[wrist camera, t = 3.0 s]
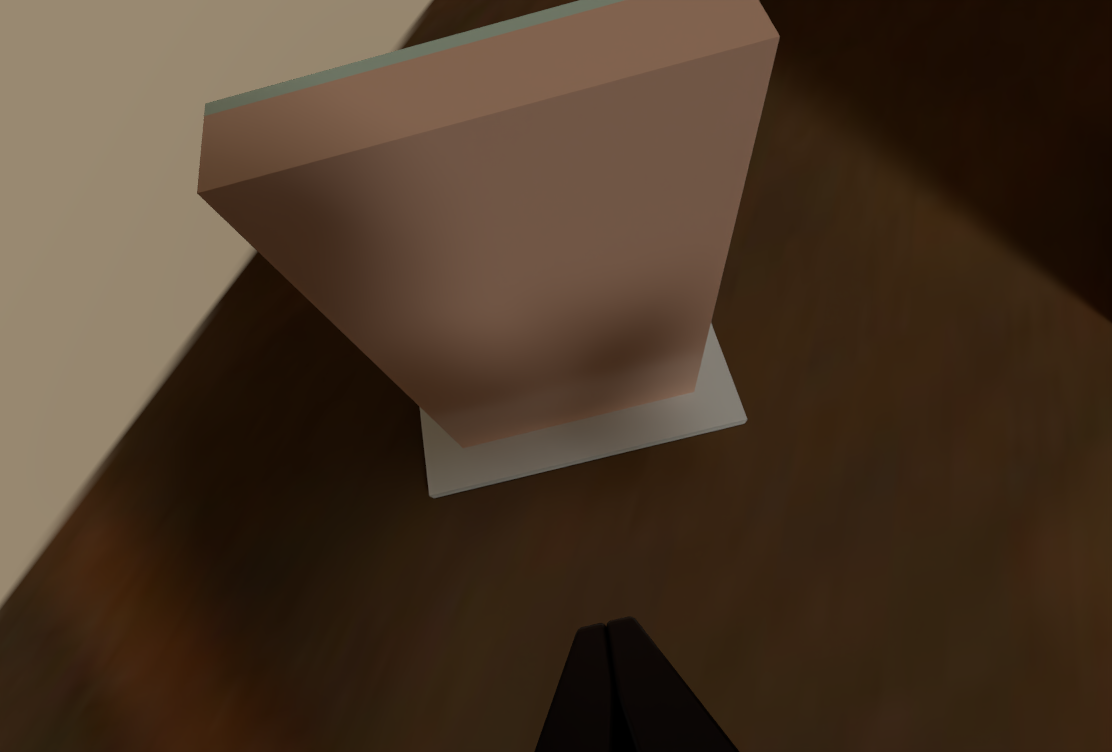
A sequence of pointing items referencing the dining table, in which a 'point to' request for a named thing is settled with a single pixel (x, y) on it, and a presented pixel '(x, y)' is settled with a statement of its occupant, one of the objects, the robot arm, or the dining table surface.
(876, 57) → the dining table surface
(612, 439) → the grey mat
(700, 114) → the pink eraser
